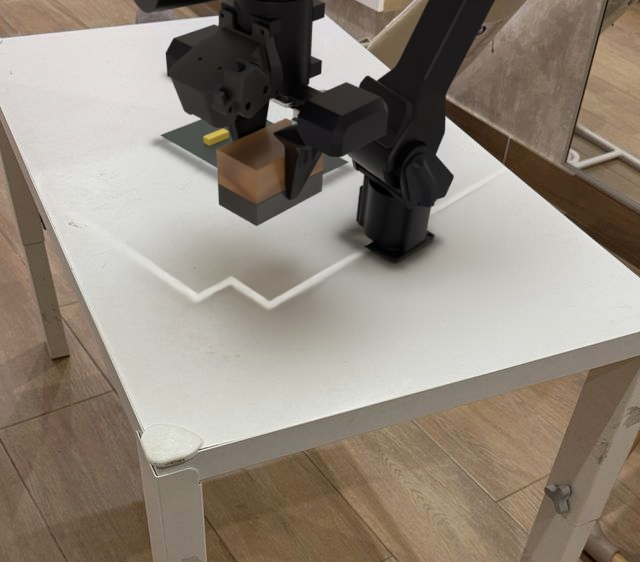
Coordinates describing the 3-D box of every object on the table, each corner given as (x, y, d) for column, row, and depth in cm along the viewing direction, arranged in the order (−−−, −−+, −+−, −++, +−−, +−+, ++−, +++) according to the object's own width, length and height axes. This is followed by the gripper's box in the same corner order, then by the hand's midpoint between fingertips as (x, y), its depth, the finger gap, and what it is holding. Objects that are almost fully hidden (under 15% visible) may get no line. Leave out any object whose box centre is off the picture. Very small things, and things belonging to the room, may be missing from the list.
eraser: (322, 191, 70) (325, 136, 67) (256, 226, 66) (256, 170, 63) (284, 171, 72) (285, 117, 69) (218, 204, 68) (216, 148, 65)
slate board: (348, 170, 91) (349, 161, 90) (271, 207, 85) (271, 199, 84) (238, 112, 99) (238, 104, 98) (160, 143, 93) (160, 134, 92)
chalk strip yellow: (229, 138, 92) (229, 131, 92) (209, 146, 91) (209, 139, 90) (223, 134, 93) (223, 128, 92) (203, 142, 91) (203, 136, 91)
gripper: (97, -25, 57) (124, 178, 68) (291, 60, 49) (285, 274, 60) (215, -56, 63) (221, 135, 74) (404, 15, 55) (380, 217, 66)
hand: (271, 186), depth 69 cm, fingers closed on eraser, 4 cm apart
